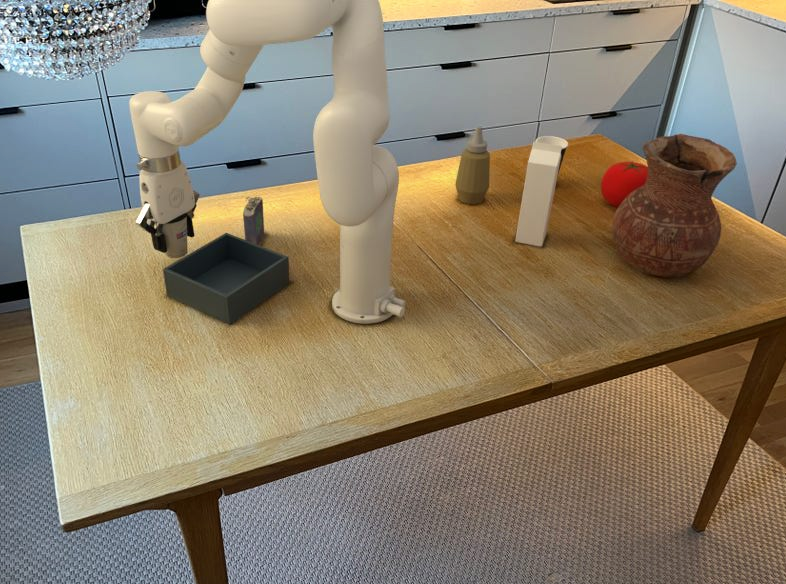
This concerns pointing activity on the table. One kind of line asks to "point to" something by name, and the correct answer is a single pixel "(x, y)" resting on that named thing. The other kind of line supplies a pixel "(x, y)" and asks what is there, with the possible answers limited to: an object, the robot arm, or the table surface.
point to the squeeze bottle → (473, 170)
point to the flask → (254, 220)
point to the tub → (227, 277)
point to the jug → (673, 207)
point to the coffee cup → (176, 236)
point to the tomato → (622, 181)
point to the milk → (538, 193)
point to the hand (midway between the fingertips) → (174, 242)
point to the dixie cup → (554, 141)
